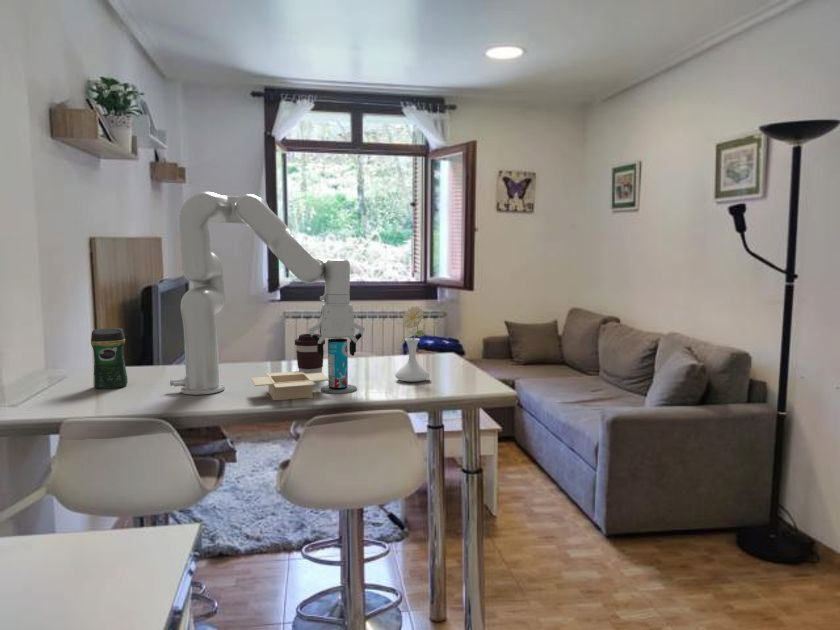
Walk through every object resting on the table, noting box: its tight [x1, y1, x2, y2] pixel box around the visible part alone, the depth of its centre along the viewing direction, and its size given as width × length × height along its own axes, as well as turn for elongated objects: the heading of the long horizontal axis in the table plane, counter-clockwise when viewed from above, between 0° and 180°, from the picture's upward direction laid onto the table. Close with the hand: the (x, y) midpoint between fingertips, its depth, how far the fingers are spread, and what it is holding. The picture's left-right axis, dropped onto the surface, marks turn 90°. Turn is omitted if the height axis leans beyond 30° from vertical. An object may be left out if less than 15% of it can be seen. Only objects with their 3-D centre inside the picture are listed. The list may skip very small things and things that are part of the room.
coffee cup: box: [294, 333, 326, 374], centre depth 203 cm, size 10×10×15 cm
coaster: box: [320, 384, 358, 395], centre depth 188 cm, size 11×11×1 cm
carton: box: [250, 370, 329, 401], centre depth 182 cm, size 21×21×5 cm
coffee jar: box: [90, 327, 128, 390], centre depth 193 cm, size 10×8×19 cm
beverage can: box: [327, 338, 349, 390], centre depth 188 cm, size 6×6×15 cm
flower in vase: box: [394, 305, 430, 383], centre depth 200 cm, size 13×11×25 cm
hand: (336, 355), depth 187 cm, fingers open, 9 cm apart
